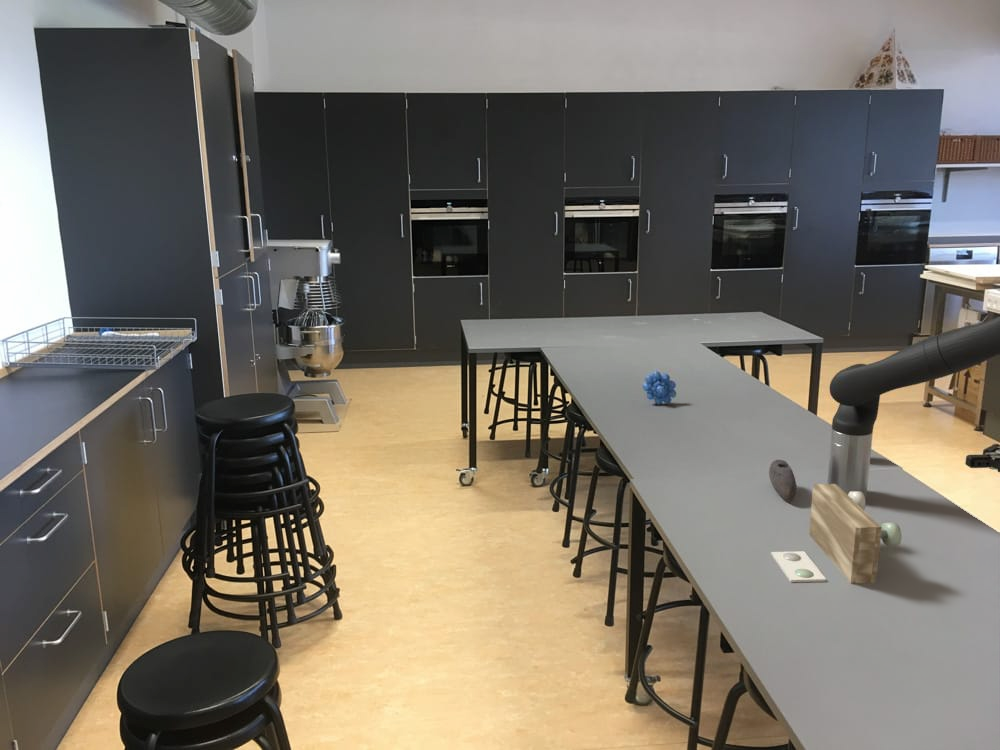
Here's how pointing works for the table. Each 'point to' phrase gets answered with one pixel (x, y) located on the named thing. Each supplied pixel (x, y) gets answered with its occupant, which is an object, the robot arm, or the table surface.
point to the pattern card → (798, 567)
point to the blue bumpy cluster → (659, 388)
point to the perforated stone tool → (783, 479)
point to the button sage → (891, 534)
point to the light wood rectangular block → (845, 533)
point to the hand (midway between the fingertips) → (968, 461)
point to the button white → (858, 498)
